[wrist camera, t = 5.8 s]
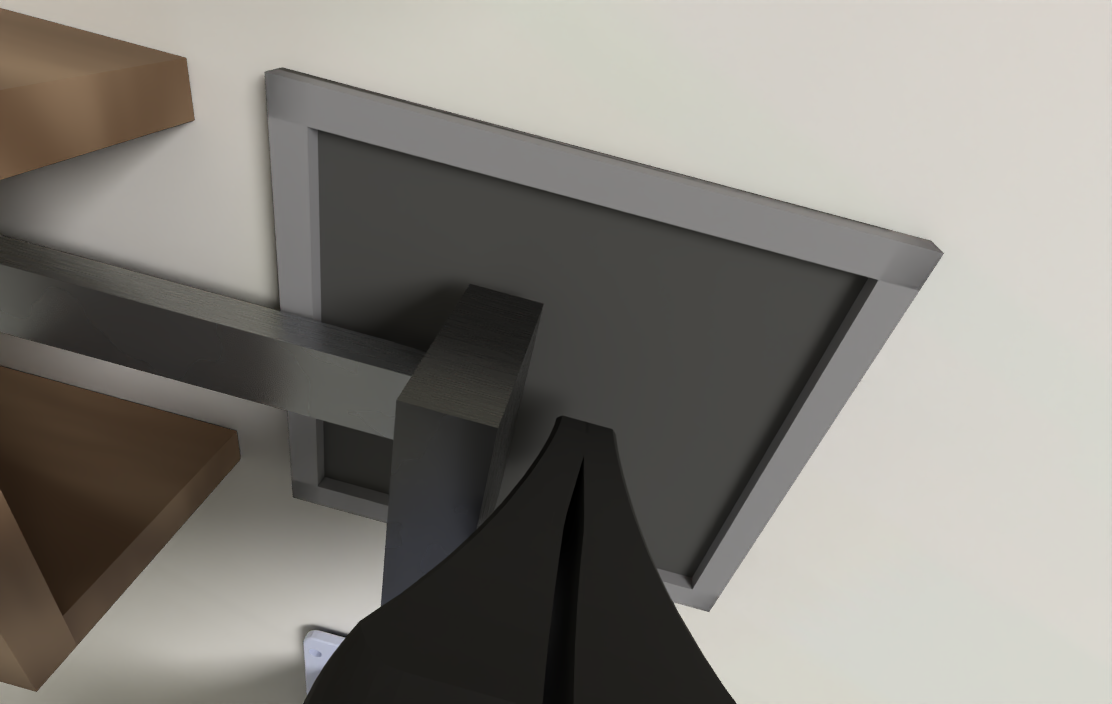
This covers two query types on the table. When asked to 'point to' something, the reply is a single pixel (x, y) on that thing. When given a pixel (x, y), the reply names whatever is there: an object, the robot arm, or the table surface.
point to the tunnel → (74, 413)
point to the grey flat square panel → (584, 306)
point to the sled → (311, 378)
